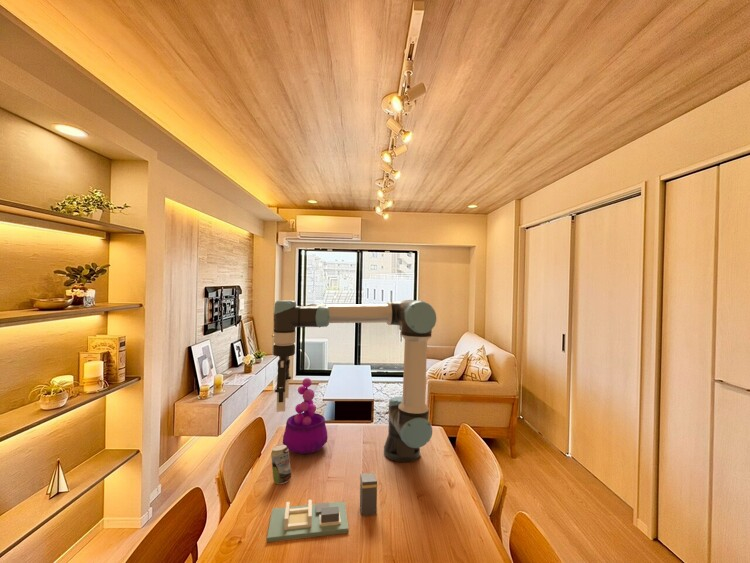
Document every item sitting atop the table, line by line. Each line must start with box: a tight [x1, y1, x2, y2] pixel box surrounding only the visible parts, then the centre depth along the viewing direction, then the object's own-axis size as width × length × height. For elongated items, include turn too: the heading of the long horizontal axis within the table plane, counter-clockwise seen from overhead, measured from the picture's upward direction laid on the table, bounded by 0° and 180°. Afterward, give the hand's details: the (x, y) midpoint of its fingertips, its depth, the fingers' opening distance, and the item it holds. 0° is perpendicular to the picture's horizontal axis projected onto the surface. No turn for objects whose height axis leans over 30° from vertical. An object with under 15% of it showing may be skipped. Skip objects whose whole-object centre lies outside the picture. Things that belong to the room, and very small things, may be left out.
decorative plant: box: [282, 377, 328, 455], centre depth 141 cm, size 19×19×30 cm
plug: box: [359, 472, 378, 517], centre depth 102 cm, size 5×5×10 cm
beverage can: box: [270, 444, 292, 485], centre depth 117 cm, size 6×7×12 cm
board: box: [266, 499, 350, 543], centre depth 96 cm, size 22×12×4 cm, turn 101°
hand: (282, 404), depth 116 cm, fingers open, 13 cm apart
